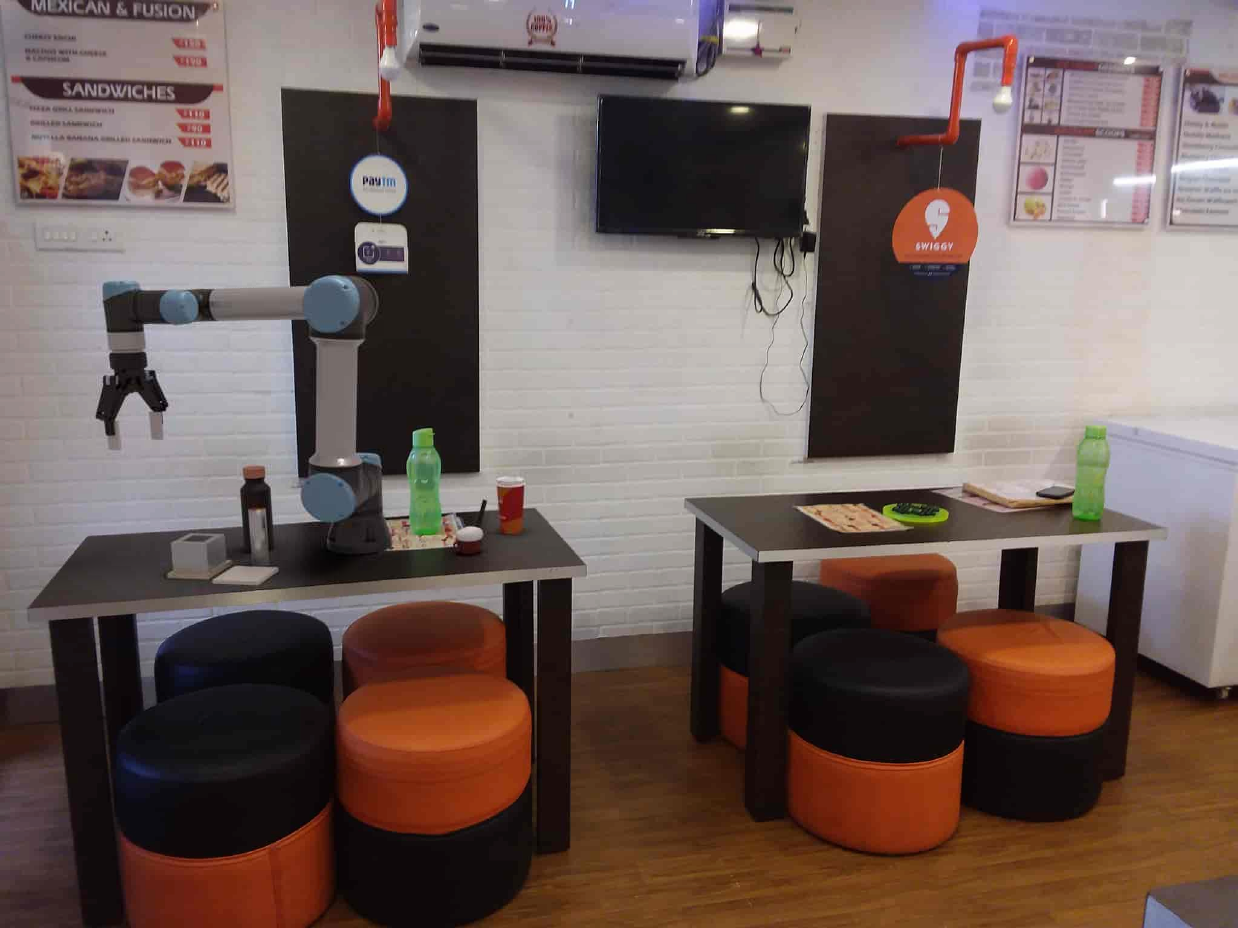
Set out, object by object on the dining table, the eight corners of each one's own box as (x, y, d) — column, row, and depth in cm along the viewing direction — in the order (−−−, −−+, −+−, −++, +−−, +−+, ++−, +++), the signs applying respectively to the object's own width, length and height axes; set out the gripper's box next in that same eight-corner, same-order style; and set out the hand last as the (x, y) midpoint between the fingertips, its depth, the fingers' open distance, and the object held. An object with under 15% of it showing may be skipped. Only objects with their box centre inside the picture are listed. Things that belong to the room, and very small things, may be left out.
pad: (278, 570, 210) (278, 567, 210) (257, 585, 200) (257, 581, 200) (235, 569, 211) (235, 565, 211) (212, 583, 201) (212, 579, 201)
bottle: (274, 551, 225) (269, 469, 221) (244, 554, 223) (237, 471, 219) (274, 543, 231) (269, 464, 227) (244, 546, 229) (238, 465, 225)
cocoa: (455, 559, 221) (451, 510, 218) (449, 551, 227) (446, 503, 224) (494, 553, 225) (491, 505, 222) (488, 545, 230) (485, 498, 227)
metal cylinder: (271, 562, 216) (268, 507, 214) (264, 567, 213) (261, 511, 210) (256, 562, 216) (252, 507, 214) (249, 566, 213) (245, 510, 210)
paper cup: (500, 527, 248) (499, 475, 245) (529, 528, 247) (528, 476, 244) (492, 535, 240) (491, 481, 238) (522, 536, 239) (521, 482, 237)
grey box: (241, 558, 219) (239, 527, 218) (207, 579, 204) (204, 546, 202) (204, 557, 220) (201, 526, 218) (167, 578, 205) (164, 544, 203)
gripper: (151, 346, 224) (160, 435, 228) (69, 355, 200) (81, 453, 204) (179, 347, 222) (187, 436, 226) (99, 356, 198) (110, 455, 202)
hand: (137, 444), depth 215 cm, fingers open, 13 cm apart
